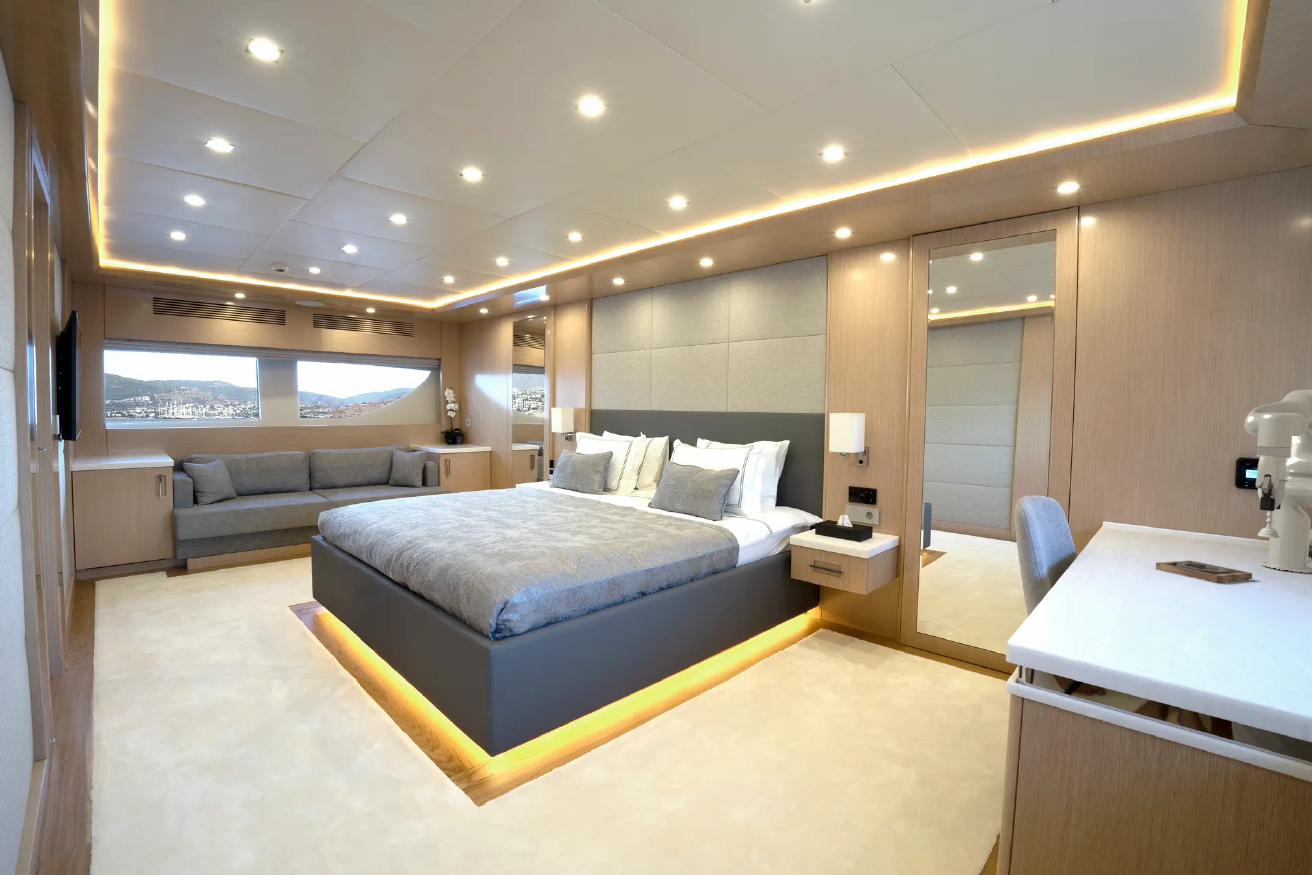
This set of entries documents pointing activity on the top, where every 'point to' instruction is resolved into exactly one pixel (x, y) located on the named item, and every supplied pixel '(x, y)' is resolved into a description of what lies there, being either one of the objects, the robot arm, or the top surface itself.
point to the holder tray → (1202, 574)
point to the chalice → (1278, 499)
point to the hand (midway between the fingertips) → (1270, 509)
